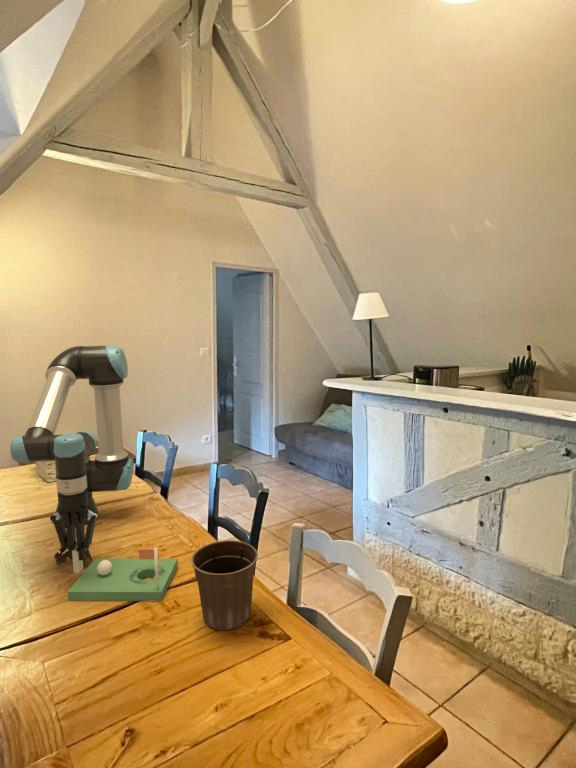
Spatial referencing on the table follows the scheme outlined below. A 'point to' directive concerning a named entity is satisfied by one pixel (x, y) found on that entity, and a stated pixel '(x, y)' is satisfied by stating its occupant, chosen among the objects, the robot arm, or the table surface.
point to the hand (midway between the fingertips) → (78, 570)
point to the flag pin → (151, 555)
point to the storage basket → (46, 470)
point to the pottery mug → (63, 558)
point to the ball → (104, 567)
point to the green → (124, 581)
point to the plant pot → (225, 582)
